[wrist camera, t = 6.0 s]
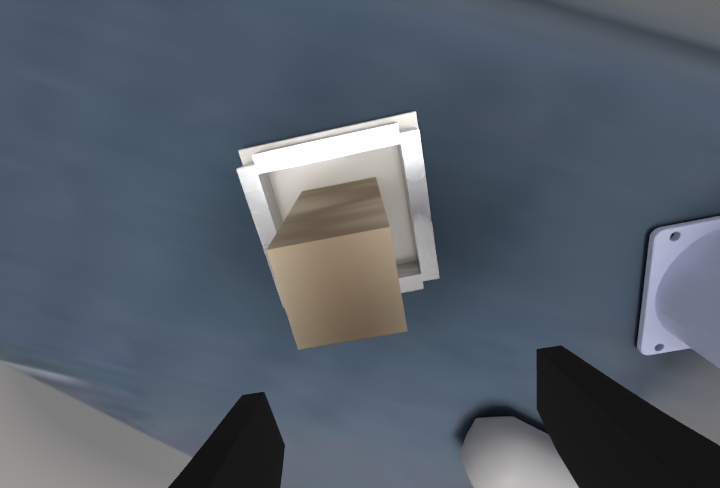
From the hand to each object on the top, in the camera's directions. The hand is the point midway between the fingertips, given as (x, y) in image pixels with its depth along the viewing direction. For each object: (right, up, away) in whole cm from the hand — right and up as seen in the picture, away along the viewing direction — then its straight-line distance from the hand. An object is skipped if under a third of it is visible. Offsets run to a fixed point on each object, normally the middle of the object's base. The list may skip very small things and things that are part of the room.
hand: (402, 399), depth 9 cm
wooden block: (-2, +5, +8) cm, 9 cm away
